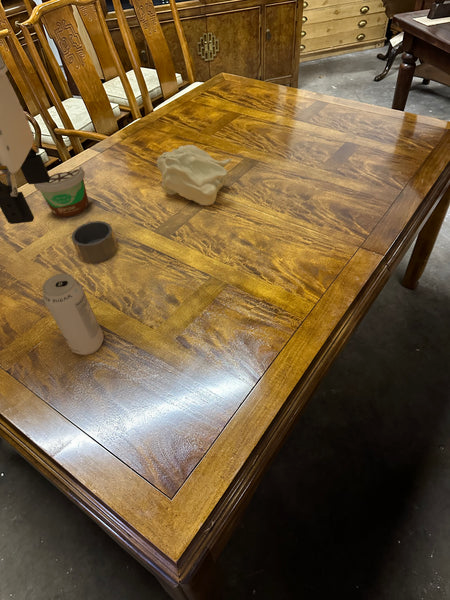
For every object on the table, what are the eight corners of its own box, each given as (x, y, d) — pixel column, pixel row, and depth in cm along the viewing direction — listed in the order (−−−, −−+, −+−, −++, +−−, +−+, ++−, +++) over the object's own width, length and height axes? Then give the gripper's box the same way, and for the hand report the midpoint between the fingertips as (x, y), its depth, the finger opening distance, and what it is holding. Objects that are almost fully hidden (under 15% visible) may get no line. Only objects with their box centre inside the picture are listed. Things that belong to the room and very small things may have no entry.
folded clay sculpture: (218, 213, 112) (244, 162, 103) (196, 229, 102) (222, 175, 93) (165, 176, 114) (185, 123, 104) (137, 189, 104) (157, 131, 94)
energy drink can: (74, 333, 77) (43, 272, 67) (107, 329, 77) (81, 268, 67) (68, 359, 73) (34, 299, 62) (102, 355, 73) (74, 295, 62)
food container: (49, 225, 102) (33, 189, 95) (46, 213, 107) (30, 178, 99) (99, 211, 105) (86, 175, 98) (94, 199, 109) (81, 164, 102)
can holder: (75, 265, 91) (67, 247, 87) (82, 241, 97) (75, 223, 94) (115, 261, 91) (109, 243, 87) (119, 237, 97) (113, 219, 93)
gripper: (-41, 43, 51) (20, 172, 63) (-109, 95, 38) (-17, 243, 51) (21, 36, 51) (70, 166, 63) (-28, 86, 38) (45, 236, 51)
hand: (31, 200), depth 57 cm, fingers open, 9 cm apart
